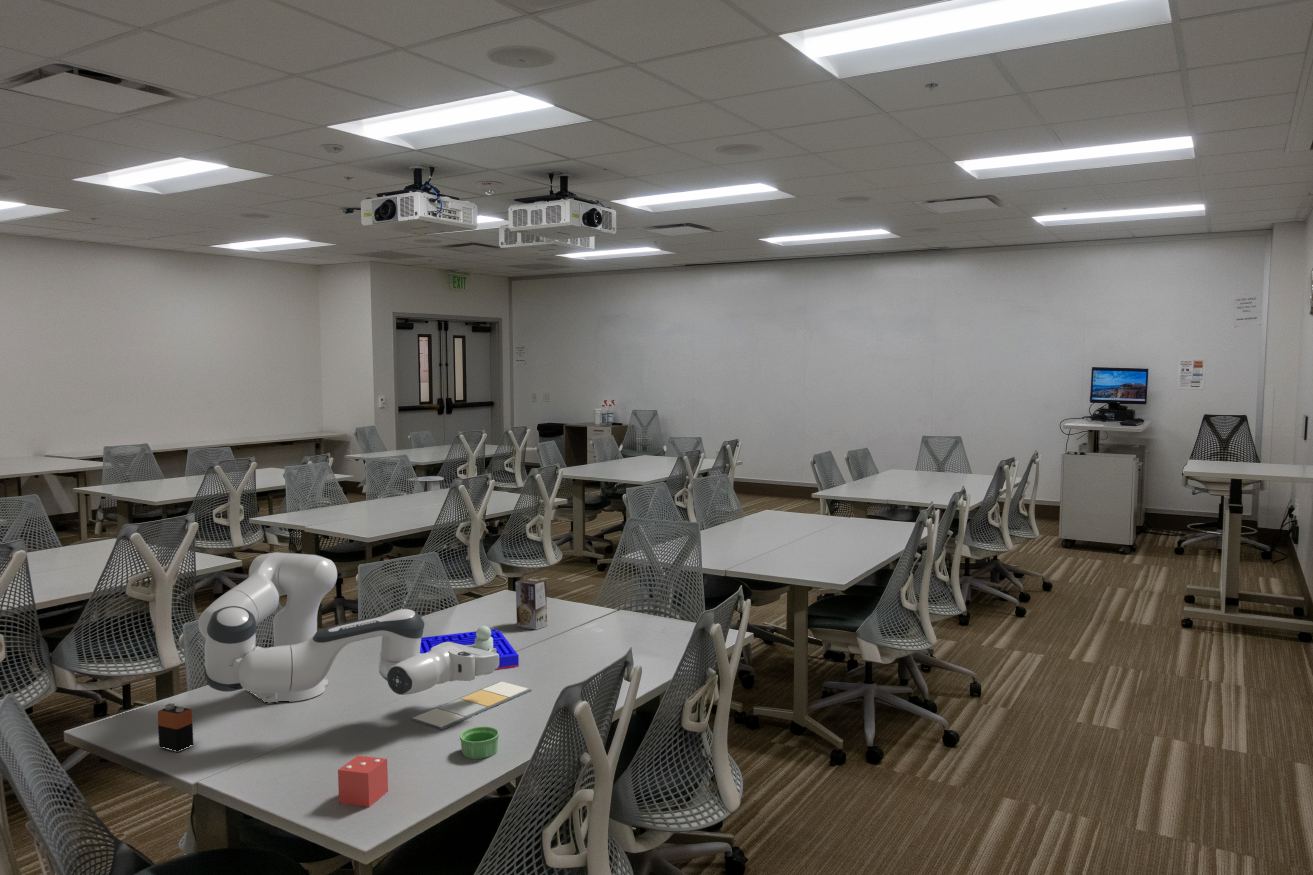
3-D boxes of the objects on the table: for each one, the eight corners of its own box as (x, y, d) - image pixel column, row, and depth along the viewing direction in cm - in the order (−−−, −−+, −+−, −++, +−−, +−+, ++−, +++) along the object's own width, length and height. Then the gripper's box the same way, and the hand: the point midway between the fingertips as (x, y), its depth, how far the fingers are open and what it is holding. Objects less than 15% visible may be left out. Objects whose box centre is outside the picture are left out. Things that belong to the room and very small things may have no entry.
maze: (518, 668, 263) (518, 655, 262) (415, 681, 252) (415, 668, 251) (498, 640, 291) (498, 628, 290) (405, 651, 280) (404, 639, 279)
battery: (174, 741, 210) (172, 700, 210) (194, 745, 207) (192, 704, 207) (158, 748, 206) (156, 707, 206) (178, 753, 203) (176, 711, 203)
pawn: (471, 672, 234) (470, 626, 234) (484, 667, 238) (483, 622, 238) (484, 675, 232) (483, 629, 231) (497, 670, 236) (496, 625, 235)
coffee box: (548, 625, 305) (547, 580, 304) (536, 630, 300) (535, 583, 299) (527, 621, 310) (527, 577, 309) (515, 626, 305) (514, 580, 304)
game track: (410, 718, 223) (410, 717, 223) (500, 682, 249) (500, 680, 249) (442, 729, 216) (442, 727, 216) (531, 690, 242) (531, 688, 242)
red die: (339, 802, 179) (337, 768, 178) (358, 787, 186) (357, 754, 185) (369, 806, 177) (368, 772, 177) (388, 790, 184) (387, 757, 183)
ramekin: (452, 752, 203) (452, 733, 203) (485, 740, 209) (485, 722, 209) (473, 764, 197) (473, 745, 196) (507, 751, 203) (506, 733, 203)
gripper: (420, 667, 230) (459, 653, 241) (475, 682, 219) (514, 666, 230) (419, 644, 230) (459, 631, 241) (474, 657, 218) (513, 643, 229)
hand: (486, 648), depth 235 cm, fingers closed on pawn, 5 cm apart
